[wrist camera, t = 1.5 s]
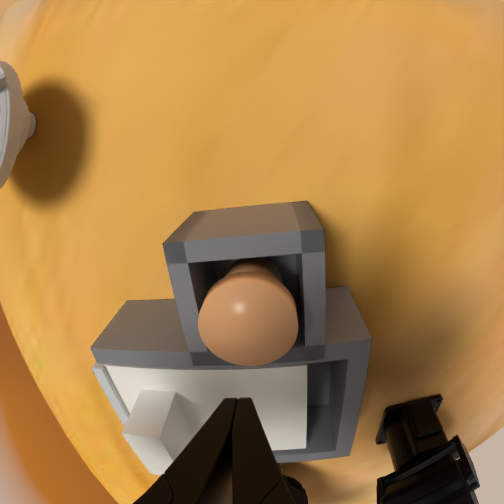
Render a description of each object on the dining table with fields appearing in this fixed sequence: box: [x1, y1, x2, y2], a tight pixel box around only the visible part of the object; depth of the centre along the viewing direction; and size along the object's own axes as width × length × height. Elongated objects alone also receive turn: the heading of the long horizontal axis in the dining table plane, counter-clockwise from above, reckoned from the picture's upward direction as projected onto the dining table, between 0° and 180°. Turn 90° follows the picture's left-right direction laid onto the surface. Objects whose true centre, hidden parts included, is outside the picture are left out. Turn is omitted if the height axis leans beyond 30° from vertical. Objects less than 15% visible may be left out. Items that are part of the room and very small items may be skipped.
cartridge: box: [92, 361, 307, 475], centre depth 18 cm, size 9×13×8 cm
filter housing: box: [91, 201, 372, 463], centre depth 19 cm, size 18×16×6 cm
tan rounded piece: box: [198, 257, 298, 366], centre depth 14 cm, size 4×4×4 cm
